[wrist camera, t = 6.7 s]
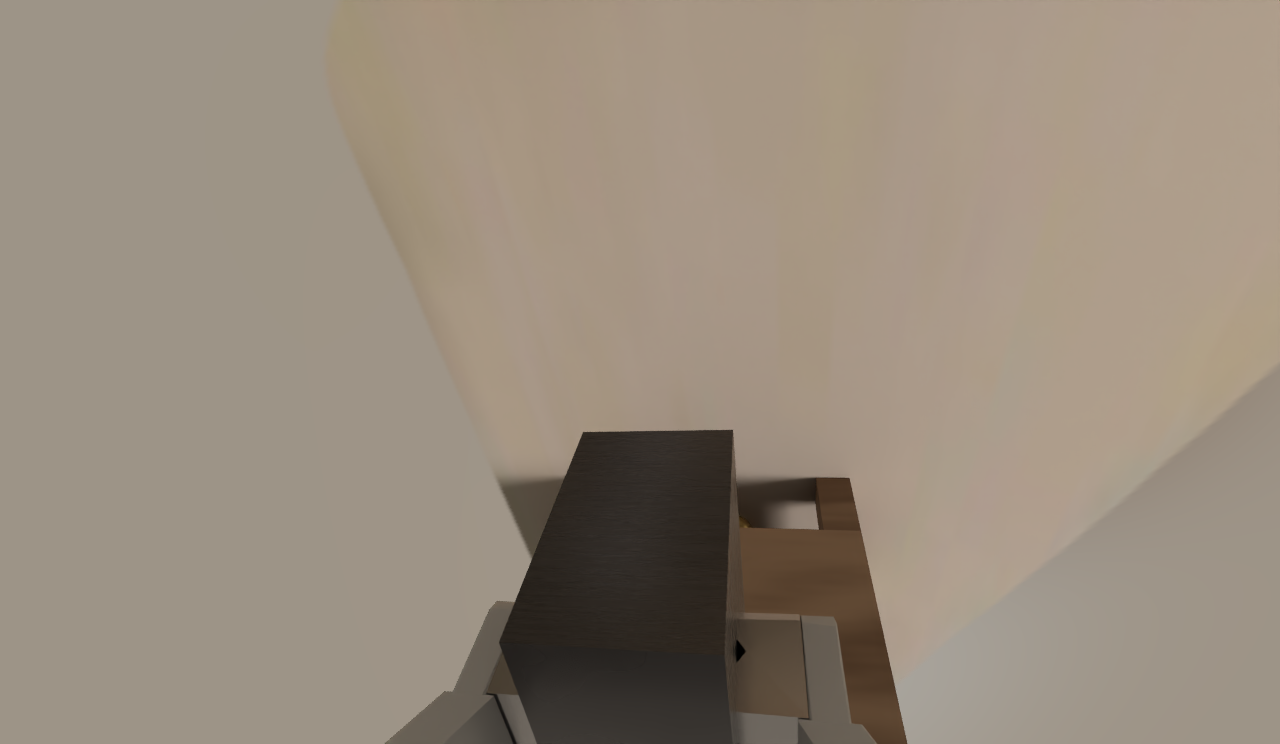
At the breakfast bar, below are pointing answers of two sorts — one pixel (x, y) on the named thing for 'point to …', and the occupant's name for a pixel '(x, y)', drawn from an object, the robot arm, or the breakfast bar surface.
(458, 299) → the breakfast bar surface
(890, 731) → the walnut cabinet
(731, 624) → the scraper
